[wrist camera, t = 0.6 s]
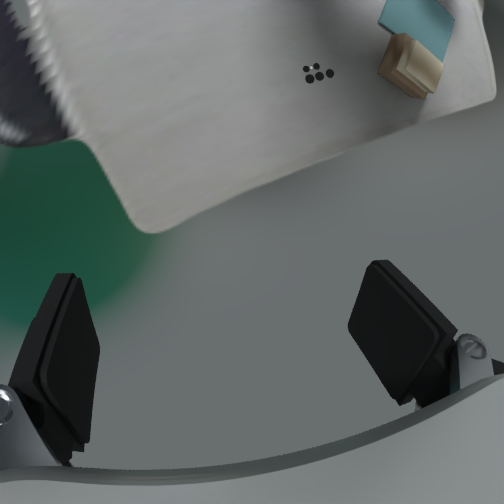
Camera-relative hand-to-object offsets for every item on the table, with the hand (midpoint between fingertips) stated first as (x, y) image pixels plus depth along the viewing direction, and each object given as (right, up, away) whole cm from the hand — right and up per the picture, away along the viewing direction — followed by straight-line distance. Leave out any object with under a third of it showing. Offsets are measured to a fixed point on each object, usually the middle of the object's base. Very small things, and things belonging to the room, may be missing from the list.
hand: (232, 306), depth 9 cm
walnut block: (+22, +28, +23) cm, 42 cm away
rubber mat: (+25, +36, +20) cm, 48 cm away
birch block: (+23, +26, +20) cm, 40 cm away
